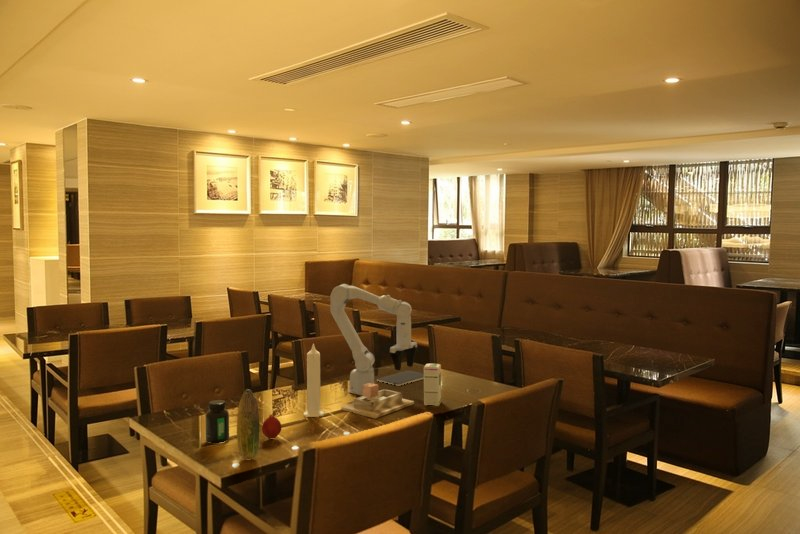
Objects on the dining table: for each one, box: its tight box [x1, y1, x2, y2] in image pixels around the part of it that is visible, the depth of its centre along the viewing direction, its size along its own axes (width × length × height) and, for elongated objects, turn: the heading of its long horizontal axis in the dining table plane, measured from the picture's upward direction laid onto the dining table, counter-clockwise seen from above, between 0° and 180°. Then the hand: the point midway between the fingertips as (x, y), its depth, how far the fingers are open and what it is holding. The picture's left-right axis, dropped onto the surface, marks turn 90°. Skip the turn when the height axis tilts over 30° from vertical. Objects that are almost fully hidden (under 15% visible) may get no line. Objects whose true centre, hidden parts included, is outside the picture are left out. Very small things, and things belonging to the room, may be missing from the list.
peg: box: [363, 383, 380, 401], centre depth 214 cm, size 5×5×8 cm
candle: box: [303, 343, 325, 418], centre depth 207 cm, size 7×7×25 cm
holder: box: [340, 388, 415, 419], centre depth 217 cm, size 22×16×4 cm
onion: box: [261, 413, 282, 439], centre depth 183 cm, size 6×6×8 cm
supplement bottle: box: [204, 399, 230, 443], centre depth 182 cm, size 7×7×12 cm
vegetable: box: [236, 388, 261, 460], centre depth 167 cm, size 6×6×20 cm
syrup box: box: [423, 363, 442, 407], centre depth 221 cm, size 6×6×14 cm
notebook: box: [375, 369, 424, 387], centre depth 258 cm, size 13×2×21 cm
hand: (403, 368), depth 233 cm, fingers open, 7 cm apart
